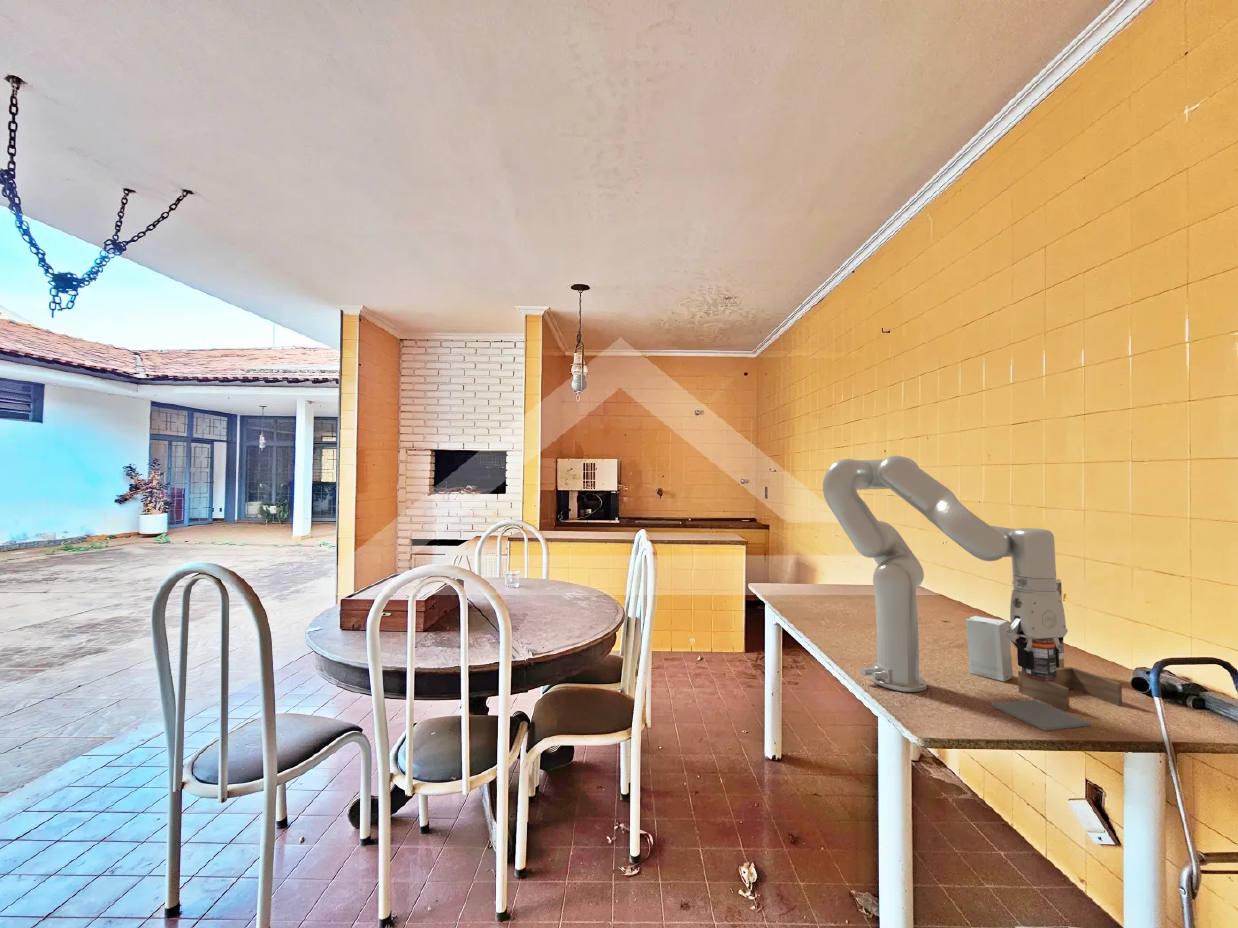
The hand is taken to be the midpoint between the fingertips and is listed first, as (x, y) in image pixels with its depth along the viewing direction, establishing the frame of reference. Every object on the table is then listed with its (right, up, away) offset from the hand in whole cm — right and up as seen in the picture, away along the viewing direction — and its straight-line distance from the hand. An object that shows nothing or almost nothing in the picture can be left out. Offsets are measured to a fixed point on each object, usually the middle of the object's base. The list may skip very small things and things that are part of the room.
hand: (1038, 665), depth 112 cm
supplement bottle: (0, -3, 0) cm, 3 cm away
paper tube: (+25, -12, +27) cm, 39 cm away
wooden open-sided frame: (+14, -11, +9) cm, 20 cm away
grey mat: (0, -11, 0) cm, 11 cm away
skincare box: (+6, -12, +23) cm, 27 cm away
